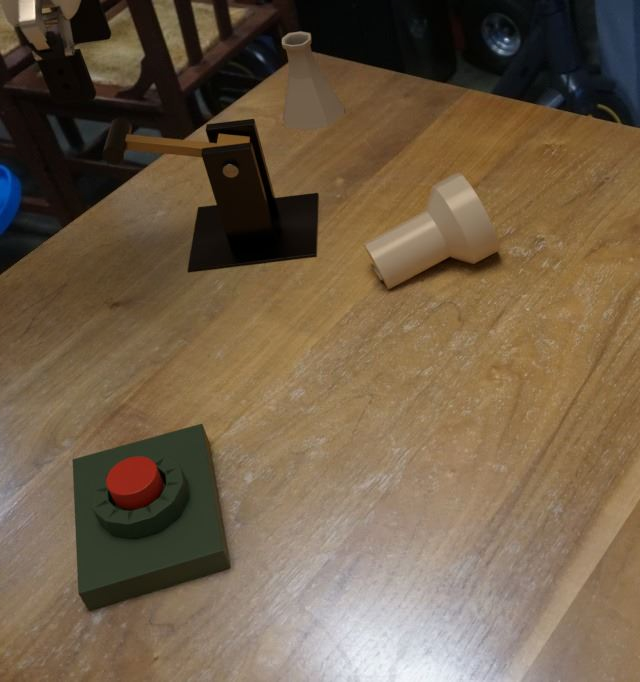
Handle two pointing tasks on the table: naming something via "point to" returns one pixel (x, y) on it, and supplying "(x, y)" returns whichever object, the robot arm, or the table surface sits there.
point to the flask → (307, 88)
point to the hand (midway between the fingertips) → (84, 68)
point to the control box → (148, 521)
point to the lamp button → (134, 483)
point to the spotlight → (435, 234)
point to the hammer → (155, 143)
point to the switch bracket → (248, 208)
